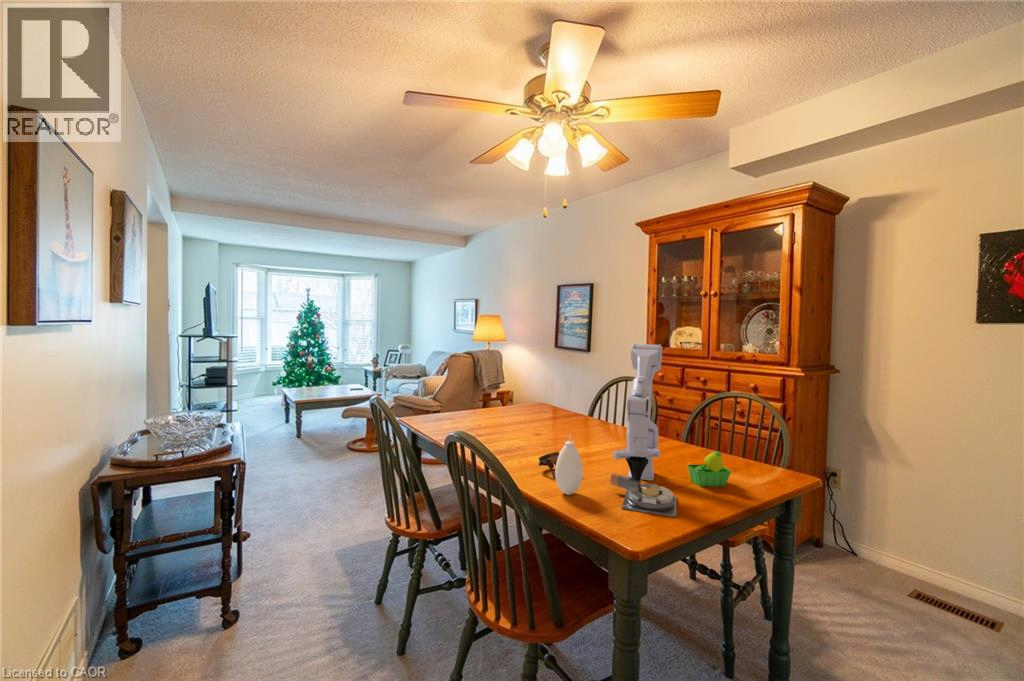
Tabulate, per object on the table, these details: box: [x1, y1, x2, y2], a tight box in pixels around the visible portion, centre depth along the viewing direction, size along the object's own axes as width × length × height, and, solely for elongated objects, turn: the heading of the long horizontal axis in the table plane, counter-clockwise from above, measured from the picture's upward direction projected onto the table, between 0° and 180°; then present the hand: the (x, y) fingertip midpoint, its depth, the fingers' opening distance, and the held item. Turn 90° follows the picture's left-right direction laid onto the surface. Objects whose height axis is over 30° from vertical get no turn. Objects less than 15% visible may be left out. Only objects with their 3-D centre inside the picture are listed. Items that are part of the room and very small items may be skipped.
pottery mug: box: [538, 451, 560, 479], centre depth 152 cm, size 12×10×8 cm
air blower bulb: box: [554, 434, 583, 496], centre depth 134 cm, size 8×8×18 cm
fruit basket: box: [686, 450, 732, 487], centre depth 145 cm, size 11×9×11 cm
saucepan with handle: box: [610, 472, 674, 504], centre depth 129 cm, size 12×18×3 cm
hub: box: [621, 483, 677, 518], centre depth 128 cm, size 14×14×5 cm
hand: (636, 481), depth 136 cm, fingers closed
